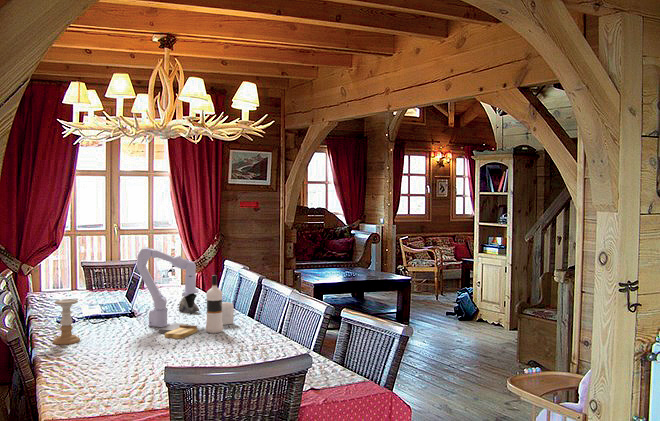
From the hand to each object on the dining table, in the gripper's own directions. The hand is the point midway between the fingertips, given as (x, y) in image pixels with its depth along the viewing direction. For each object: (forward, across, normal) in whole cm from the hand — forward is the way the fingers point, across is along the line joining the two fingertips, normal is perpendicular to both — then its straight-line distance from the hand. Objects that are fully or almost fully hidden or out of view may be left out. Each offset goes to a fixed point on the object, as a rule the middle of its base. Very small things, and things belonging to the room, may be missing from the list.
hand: (190, 307), depth 349 cm
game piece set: (+10, -48, -56) cm, 74 cm away
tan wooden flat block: (+9, -24, -8) cm, 27 cm away
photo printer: (+10, +6, -18) cm, 21 cm away
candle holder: (+10, -55, +37) cm, 67 cm away
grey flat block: (+9, -16, +1) cm, 19 cm away
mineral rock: (+10, +30, +18) cm, 37 cm away
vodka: (+10, -12, -21) cm, 26 cm away
